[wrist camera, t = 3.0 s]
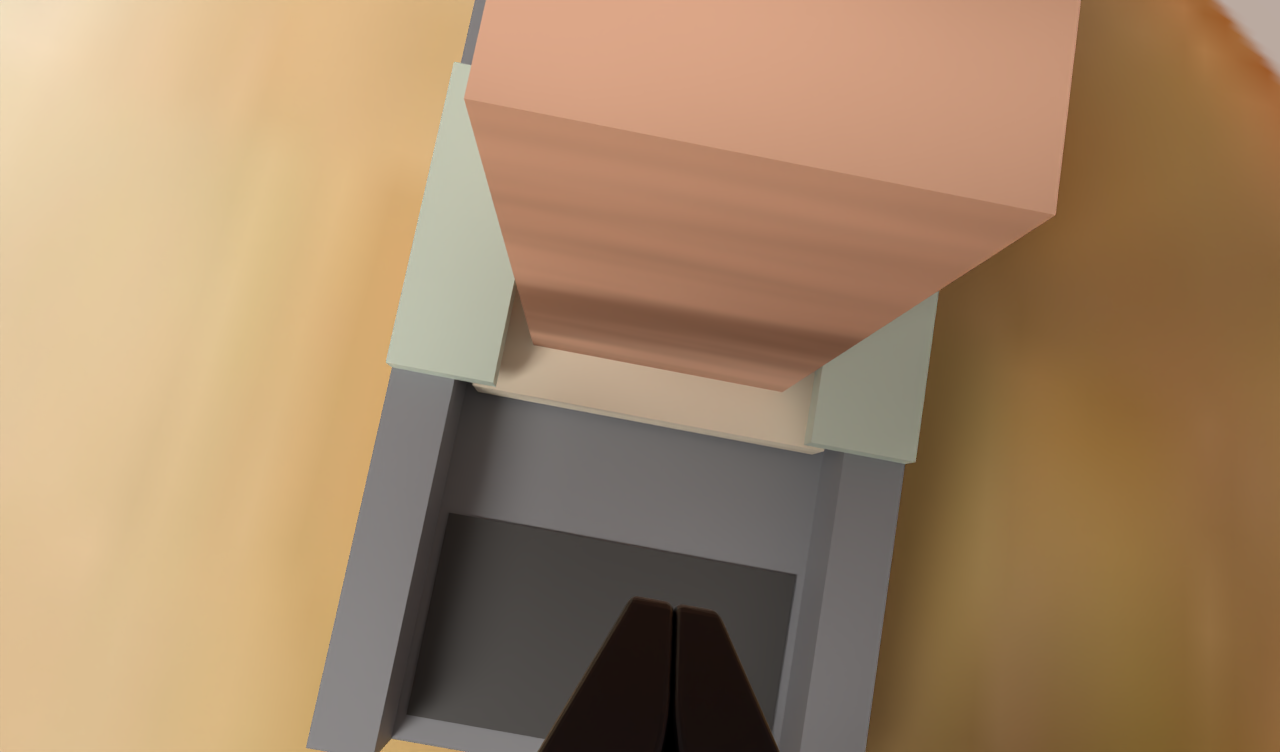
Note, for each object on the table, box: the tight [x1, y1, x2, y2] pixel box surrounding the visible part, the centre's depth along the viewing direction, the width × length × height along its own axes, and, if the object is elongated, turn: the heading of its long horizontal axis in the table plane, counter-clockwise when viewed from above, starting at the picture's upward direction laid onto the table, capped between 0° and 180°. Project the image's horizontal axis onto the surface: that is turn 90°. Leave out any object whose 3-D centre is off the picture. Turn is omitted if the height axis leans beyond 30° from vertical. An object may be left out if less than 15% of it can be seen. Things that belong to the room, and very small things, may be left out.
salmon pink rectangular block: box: [464, 0, 1081, 455], centre depth 14 cm, size 7×7×12 cm
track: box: [306, 0, 939, 752], centre depth 20 cm, size 20×10×4 cm, turn 170°
